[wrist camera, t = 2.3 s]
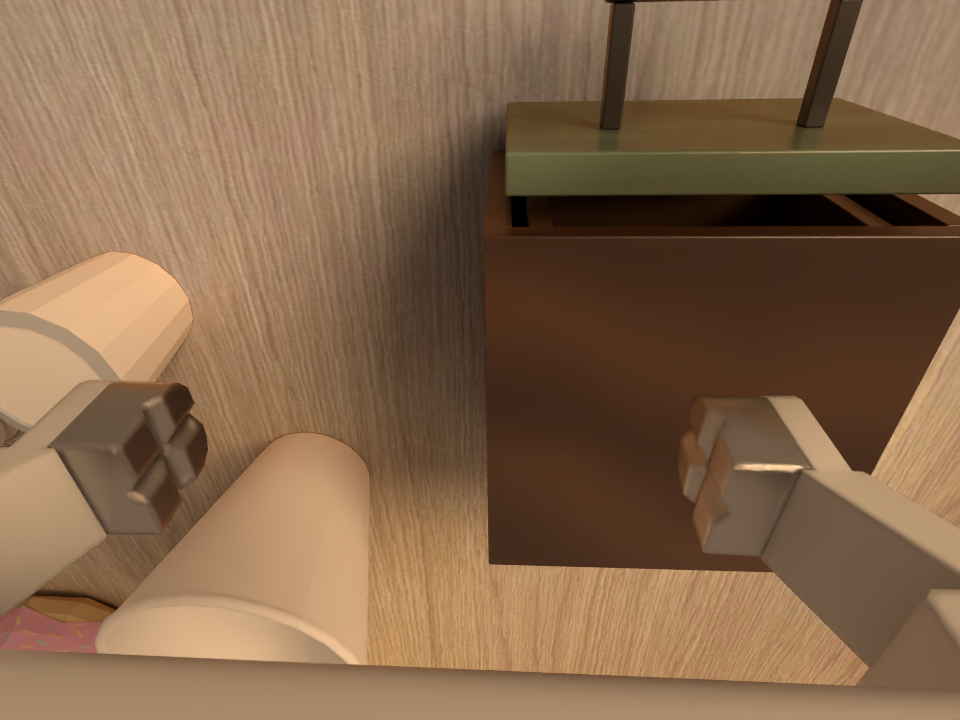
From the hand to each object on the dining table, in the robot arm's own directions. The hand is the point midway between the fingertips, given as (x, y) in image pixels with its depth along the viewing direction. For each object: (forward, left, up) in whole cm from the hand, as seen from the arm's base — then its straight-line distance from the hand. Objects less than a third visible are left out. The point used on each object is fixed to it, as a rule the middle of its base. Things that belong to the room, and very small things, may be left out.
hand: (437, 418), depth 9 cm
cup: (+19, -11, -17) cm, 28 cm away
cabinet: (+7, +7, -17) cm, 20 cm away
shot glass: (+7, -18, -17) cm, 26 cm away
